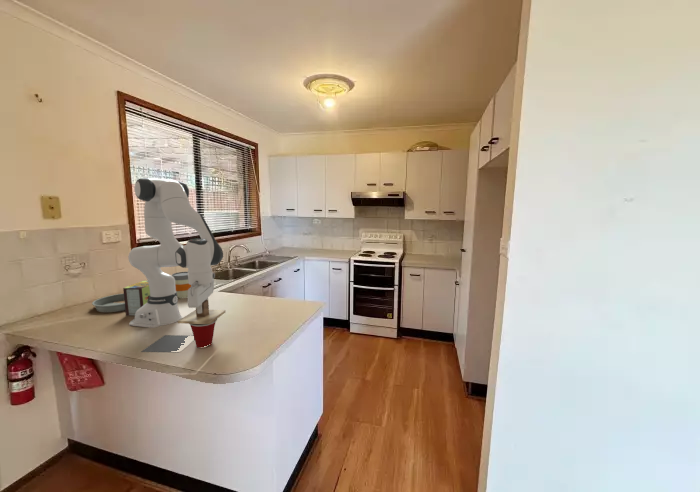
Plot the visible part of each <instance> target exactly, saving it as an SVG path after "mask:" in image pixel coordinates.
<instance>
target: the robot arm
mask: <svg viewBox="0 0 700 492" xmlns="http://www.w3.org/2000/svg"><path fill="white" fill-rule="evenodd" d="M134 183H135V184H134V194H135V196H136V198H137V199H139V200H140V201H144V209H143V217H144V218H143V221H144V232H145V234H146V235H147V236H148V237H151V238H152V239H155V240H157V241H159V243H160V245H143V246H138V247H133V248H132V249H130V251H129V253H128V263H130V265H131V266H132V267H133V268H135V269H137V270H139V271H140V272H141V273H142V274H143V275H144V276H145V278H146V279H147V280H146V281H148V283H149V289H150V295H149V296H148V297H146V299H148V301H147V303H146V304H144V305H143V306H142V307H141V308H139V309H138V310H137V311H136V313H135V316H134V318H133V319H132V320H131V321H130V322H129V325H128V326H134V327H143V328H158V327H161V326H166V325H171V324H173V323H178V320H180V319H182V318H183V317H182V315H181V313H180V308H179V306H178V299H179V298H177V292H176V286H175V279H174V277H173V276H172V274H169V273H167V272H164V271H163V270H162V268H170V267H171V268H172V267H181V268H184V269H188V270H187V272H188V283H189V284H190V285H191V287H190V288H189V289H188V298H187V307H188V308H189V309H193V308H195V310H196V309H197V313H198V314H201V313H202V312H203V308H202V303H203V302H204V301H205V300H208V301H209V297H210V296H212V294H213V293H214V290H215V280H214V279H215V277H216V273H215V272H213V269H212V266H218V265H219V264H220V262H221V261H222V260H223V258H224V250H223V249H222V247H221V245H220V244H219V243H218V241H217V240H216V238H215V236H214V235H213V233H212V230H211V228H210V227H209V225H208V224H207V222H206V219H205V218H204V217H203V215H202V214H201V213H200V212H198V211H196V209H194V208H193V207H192V205H191V203H190V200H189V197H190V190H189V187H188V185H187V184H186V183H185V182H182V181H179V180H173V179H166V178H161V179H160V178H148V177H143V178H138V179H137V180H136V181H135V182H134ZM172 223H174V224H177V225H179V226H181V225H182V226H185V227H188V228H190V229H194V230H195V231H196V232H197V233H198V236H199V237H198V238H191V239H189V240H187V241H186V242H187V243H186V244H185V245H183V244H182V243H180V242H179V241H178V239H177V238H176V237H175V235H174V232H173V225H172ZM146 299H145V300H146Z"/></svg>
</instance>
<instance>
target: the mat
mask: <svg viewBox="0 0 700 492" xmlns="http://www.w3.org/2000/svg"><path fill="white" fill-rule="evenodd" d="M188 336H189V335H187V334H186V335H184V334H183V335H180V334H179V335H175V334H173V335H171V334H169V335H168V334H165V335H163V336H162V337H160V338H159V339H157V340H156V341H154V342H153V343H151V344H150V345H148V346H147V347H145V348H144V349H142V351H140V353H172V352H171V351H177V350H179V349H178V348H180V346H181V345H184V344H181V343H185V341H184V340H185V338H187V337H188Z"/></svg>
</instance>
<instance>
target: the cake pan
mask: <svg viewBox="0 0 700 492" xmlns="http://www.w3.org/2000/svg"><path fill="white" fill-rule="evenodd" d="M123 301H124V292H123V293H117V294H116V293H115V294H112V295H107V296H103V297H100V298H97V299H95V300H93V301H92V303H91V305H93V306H94V307H95V310H96V311H97V312H99V313H113V312H115V313H116V312H121V311H126V310H125V301H124V302H123Z"/></svg>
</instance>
